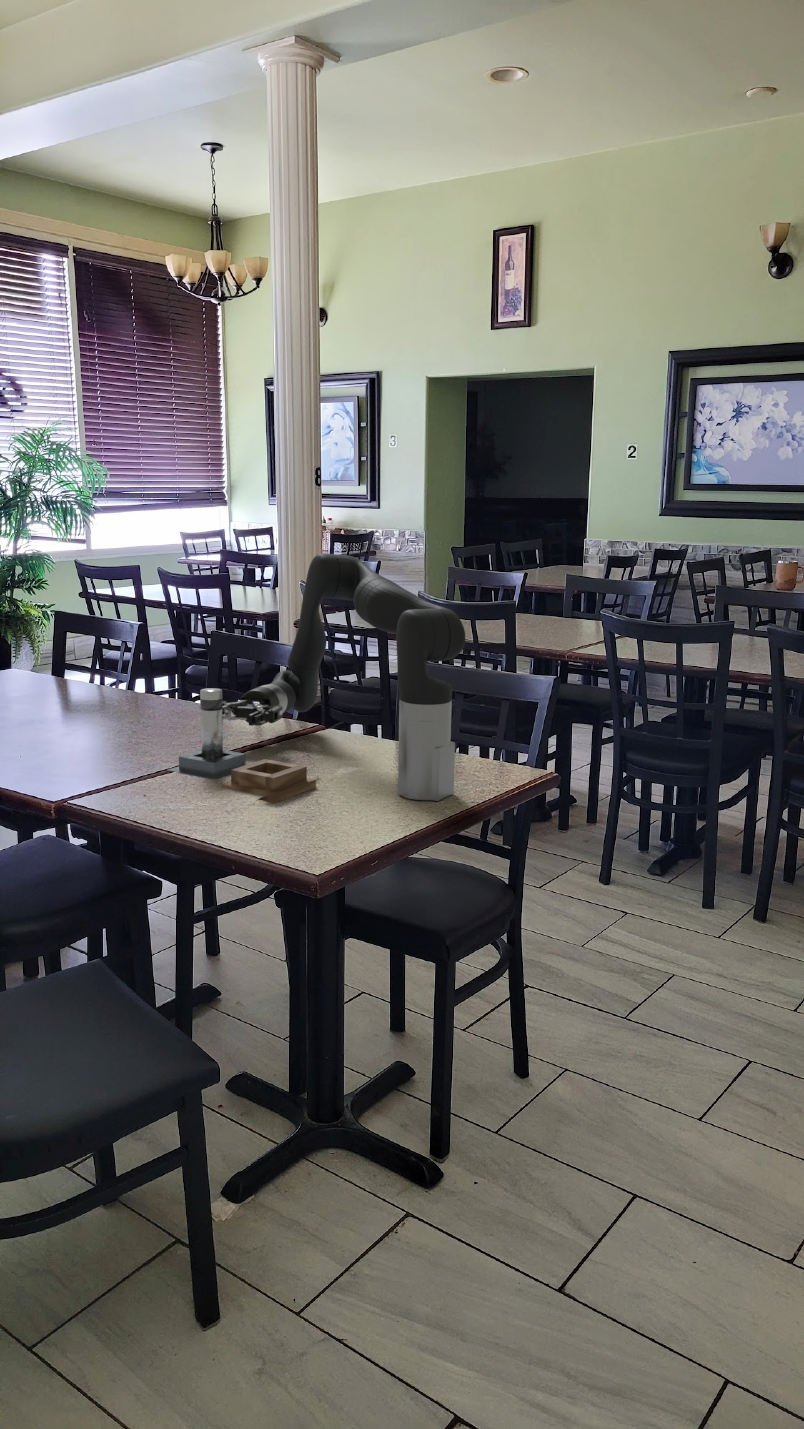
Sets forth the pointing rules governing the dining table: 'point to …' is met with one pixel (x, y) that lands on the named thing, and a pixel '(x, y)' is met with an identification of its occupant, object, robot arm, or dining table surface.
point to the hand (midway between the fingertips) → (230, 718)
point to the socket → (209, 764)
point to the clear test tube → (211, 723)
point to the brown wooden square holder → (271, 780)
